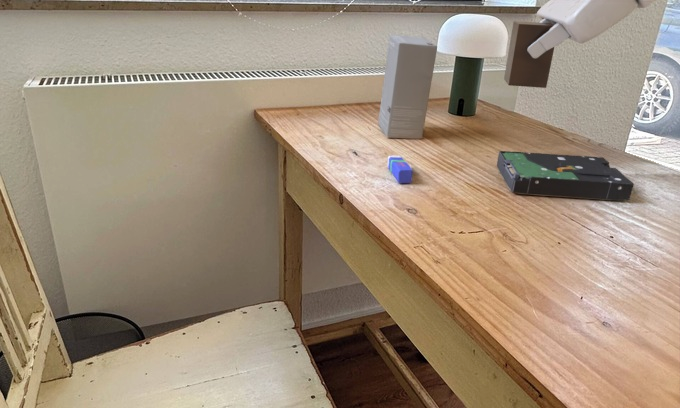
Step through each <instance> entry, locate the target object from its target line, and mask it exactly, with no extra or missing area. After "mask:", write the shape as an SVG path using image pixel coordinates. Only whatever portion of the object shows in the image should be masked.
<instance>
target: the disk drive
mask: <svg viewBox="0 0 680 408" xmlns="http://www.w3.org/2000/svg"><path fill="white" fill-rule="evenodd" d="M496 167H497V170H498V172H499V173H500V176H501V177H502V179H503V181H504V182H505V184H506V186H507V188H508V189H509V191H510V192H511V193H516V194H519V195H531V196H541V197H562V198H574V199H575V198H576V199H590V200H601V201H602V200H603V201H630V198H631V195H632V192H633V189H634V185H635V184H634V181H632V180H630V179H629V178H628V177H627V176H625V175H624V174H623V173H622V172H621V171H620V170H618V168H616V167H611V166H610V162H609V161H608V160H607V159H606V158H605V157H602V156H601V157H600V156H590V155H589V156H588V155H584V156H582V155H571V154H556V153H539V152H538V153H537V152H525V151H508V150H499V151H498V156H497V161H496Z"/></svg>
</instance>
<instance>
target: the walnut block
mask: <svg viewBox="0 0 680 408" xmlns="http://www.w3.org/2000/svg"><path fill="white" fill-rule="evenodd" d="M553 26H554V24H552V23H540V21H539V22H537V21H521V20H519V21H516V20H514V21H513V23H512V29H511V33H510V41H509V47H508V53H507V58H506V64H505V70H504V77H503V80H504V81H505V82H506V84H507V85H508V86H511V87H512V86H513V87H526V88H542V89H546V88H547V86H548V81H549V77H550V76H549V75H550V72H551V66H552V63H553V62H552V61H553V57H554V52H555V47H553V48H551V49H549V50H547V51H546V52H544V53H543V54H542V55H540V56H539V57H538V58H532V57H531V55H530V54H529V53H528V51H527V50H526V48H527V46H528V45H530V44H531V43H532V42H533V41H535V40H536V39H539V38H540V37H541V36H543V35H544V34H545V33H547V32H548V31H549V29H550V28H552V27H553Z"/></svg>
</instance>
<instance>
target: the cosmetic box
mask: <svg viewBox="0 0 680 408" xmlns="http://www.w3.org/2000/svg"><path fill="white" fill-rule="evenodd" d="M388 38H389V39H388V47H387V53H386V61H385V67H384V68H385V69H384V76H383V84H382V91H381V100H380V106H379V114H378V120H377V125H378V127H379V128H380V130H381V131H382V133H383V134H384V136H385V137H386V138H387V139H414V140H415V139H417V140H419V139H423V135H424V129H425V122H426V117H427V110H428V104H429V98H430V92H431V85H432V81H433V75H434V68H435V64H436V57H437V51H438V45H437V44H435V43H434V42H433V41H432V40H429V39H427V38H426V37H423V36H410V35H401V34H390V35H389V37H388Z"/></svg>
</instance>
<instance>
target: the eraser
mask: <svg viewBox="0 0 680 408" xmlns="http://www.w3.org/2000/svg"><path fill="white" fill-rule="evenodd" d="M386 166H387V169H388V171H389V172H390V173H391V174H392V175H393V176H394V178H395V180H396V181H397V183H398V184H411V183H412V181H413V173H414V172H413V169H412V168H411V166H410V165H409V164H408V163H407V161H406V160H405V159H403V157H402V156H401V155H399V154H398V155H388V156H387V165H386Z"/></svg>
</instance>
